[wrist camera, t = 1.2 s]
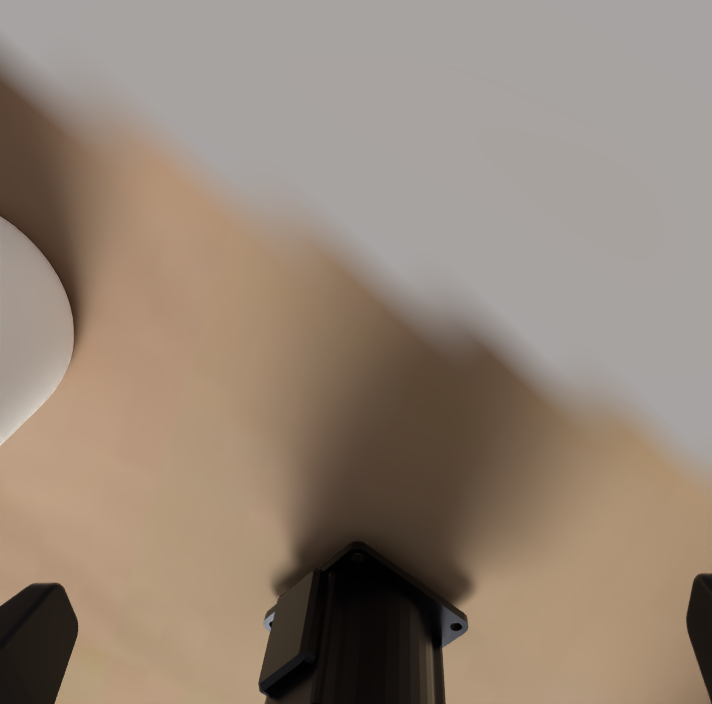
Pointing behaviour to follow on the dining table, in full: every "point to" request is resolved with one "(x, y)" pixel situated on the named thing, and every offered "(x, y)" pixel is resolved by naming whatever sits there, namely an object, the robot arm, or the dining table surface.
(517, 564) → the dining table surface
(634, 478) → the dining table surface
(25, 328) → the mug
